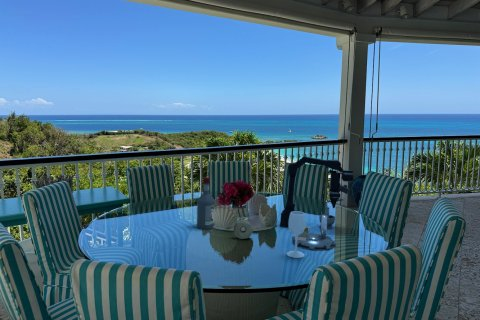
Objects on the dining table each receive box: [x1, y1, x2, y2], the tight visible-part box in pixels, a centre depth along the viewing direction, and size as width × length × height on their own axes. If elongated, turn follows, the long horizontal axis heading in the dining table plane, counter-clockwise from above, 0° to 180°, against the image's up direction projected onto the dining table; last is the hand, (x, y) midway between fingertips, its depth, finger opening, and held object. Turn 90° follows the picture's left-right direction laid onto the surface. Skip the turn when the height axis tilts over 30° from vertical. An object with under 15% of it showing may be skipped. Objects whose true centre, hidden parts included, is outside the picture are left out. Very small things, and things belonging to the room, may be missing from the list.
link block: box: [303, 225, 310, 234], centre depth 220 cm, size 5×4×4 cm
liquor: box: [196, 176, 216, 230], centre depth 225 cm, size 9×9×30 cm
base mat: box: [291, 240, 336, 252], centre depth 203 cm, size 22×22×1 cm
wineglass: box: [286, 210, 306, 259], centre depth 183 cm, size 9×9×21 cm
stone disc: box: [233, 219, 254, 240], centre depth 207 cm, size 10×4×10 cm, turn 86°
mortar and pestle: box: [318, 206, 336, 230], centre depth 235 cm, size 11×9×12 cm
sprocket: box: [291, 214, 336, 250], centre depth 202 cm, size 23×23×14 cm
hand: (333, 206), depth 227 cm, fingers open, 9 cm apart
